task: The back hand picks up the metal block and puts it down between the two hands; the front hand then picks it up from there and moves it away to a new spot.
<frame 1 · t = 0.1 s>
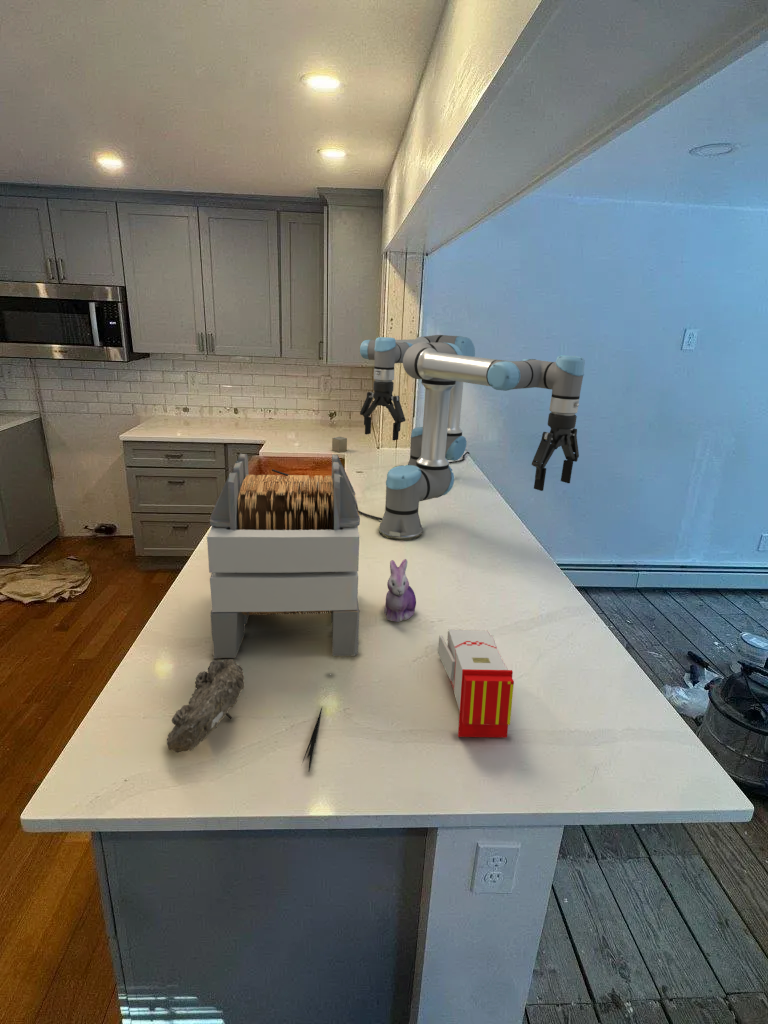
front hand: (552, 485, 166), 28 cm above the counter, tool pointing down, fingers open, 13 cm apart
back hand: (381, 436, 218), 28 cm above the counter, tool pointing down, fingers open, 13 cm apart
feather: (319, 719, 109), on the counter
toy: (469, 691, 119), on the counter
fossil: (212, 717, 108), on the counter
metal block: (339, 450, 311), on the counter
record crate stand: (289, 620, 142), on the counter
figurine: (399, 614, 147), on the counter
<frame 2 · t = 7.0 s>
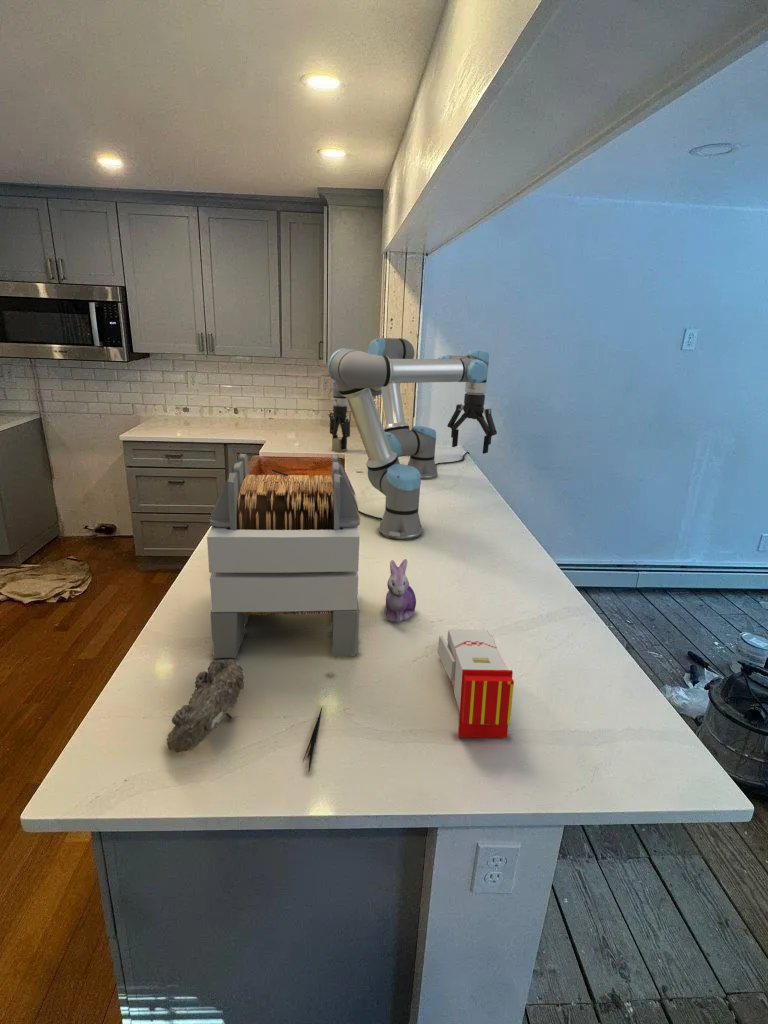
front hand: (469, 449, 216), 25 cm above the counter, tool pointing down, fingers open, 13 cm apart
back hand: (339, 448, 310), 2 cm above the counter, tool pointing down, fingers closed on metal block, 5 cm apart
metal block: (339, 450, 311), on the counter, touching back hand
everything else where it was.
when the back hand's fingers open (2 cm above the counter, at t = 17.7 s): metal block stays where it is, on the counter.
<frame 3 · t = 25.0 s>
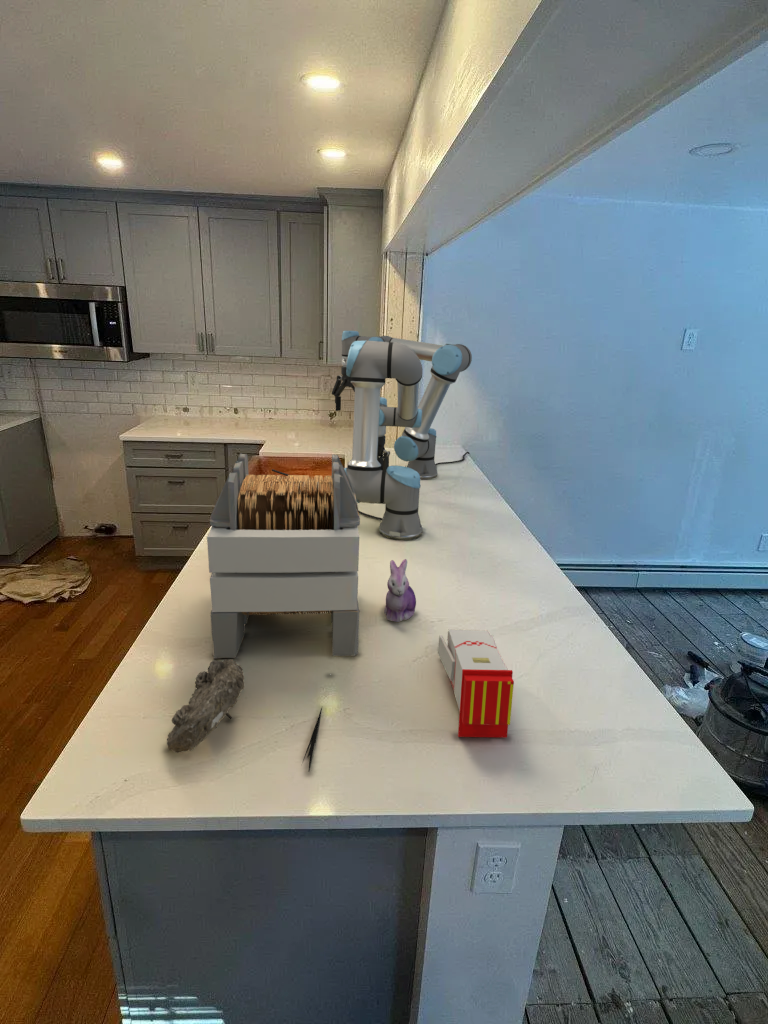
front hand: (374, 487, 245), 2 cm above the counter, tool pointing down, fingers closed on metal block, 5 cm apart
back hand: (348, 412, 266), 28 cm above the counter, tool pointing down, fingers open, 13 cm apart
metal block: (374, 490, 246), on the counter, touching front hand
everything else where it was.
when the front hand's fingers open (2 cm above the counter, at t = 32.6 s): metal block stays where it is, on the counter.
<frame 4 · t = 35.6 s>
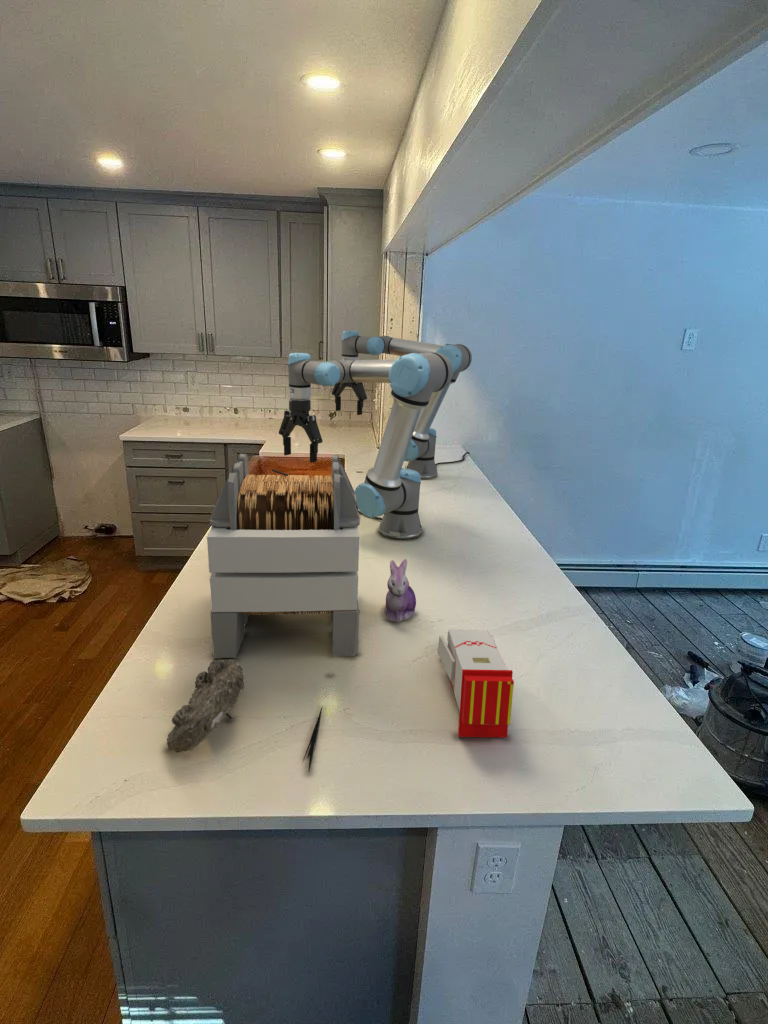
front hand: (300, 458, 204), 22 cm above the counter, tool pointing down, fingers open, 13 cm apart
back hand: (348, 412, 266), 28 cm above the counter, tool pointing down, fingers open, 13 cm apart
metal block: (300, 516, 212), on the counter
everything else where it was.
at the end: metal block inside the target area (0.1 cm from its centre), on the counter; metal block tilted 0°; the two hands never held the metal block at the same time; the front hand is holding nothing; the back hand is holding nothing; metal block at rest at the end (0.0 cm/s) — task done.
